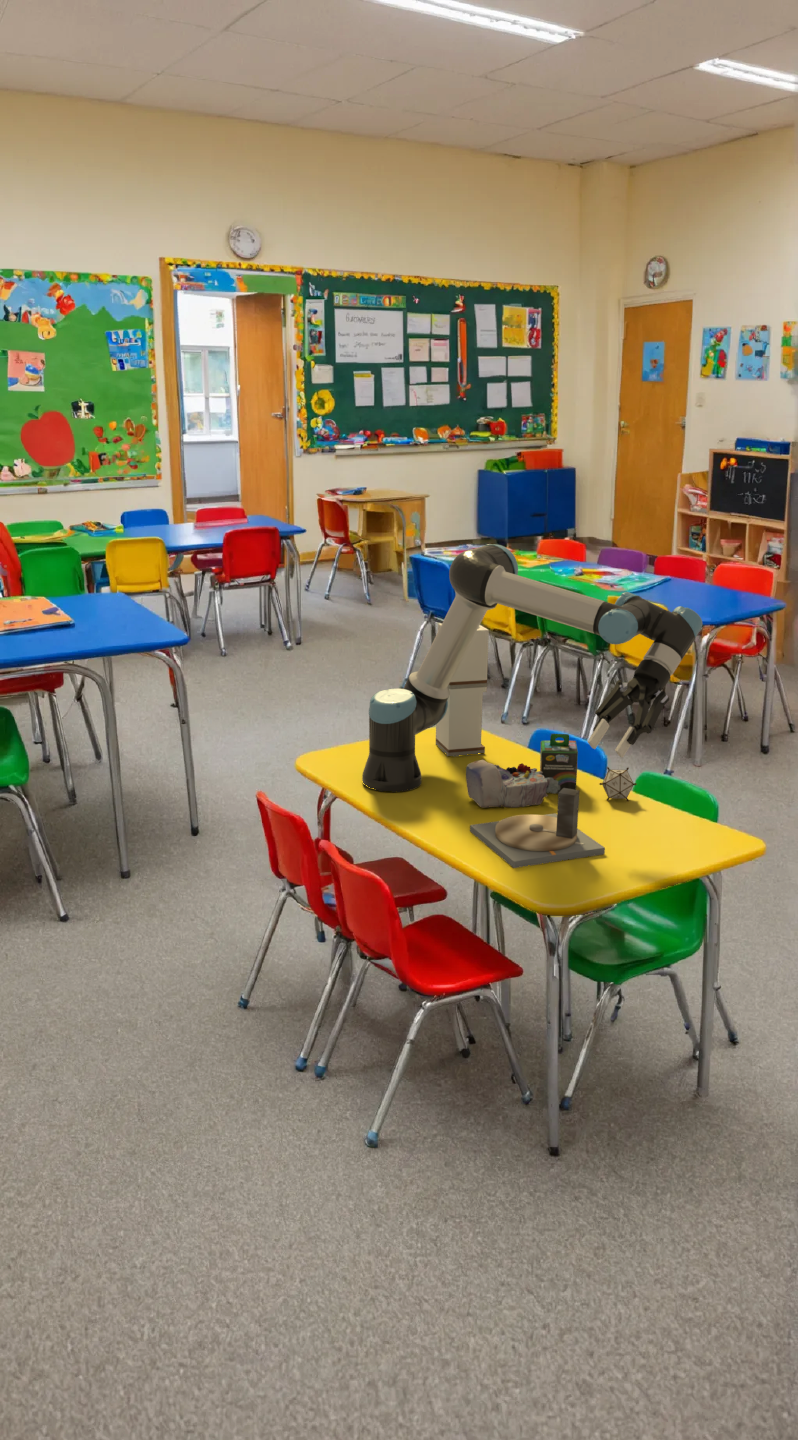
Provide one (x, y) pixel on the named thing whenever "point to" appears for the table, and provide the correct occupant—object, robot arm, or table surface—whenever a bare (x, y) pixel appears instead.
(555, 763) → the chalk box
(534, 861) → the dial base plate
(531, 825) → the dial
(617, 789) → the game die
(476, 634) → the tall cream pedestal vase
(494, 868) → the table surface
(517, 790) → the cell model
